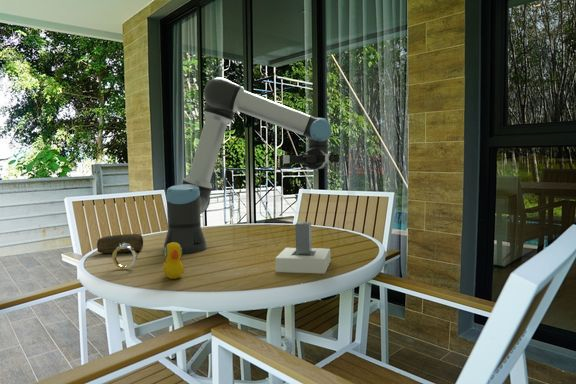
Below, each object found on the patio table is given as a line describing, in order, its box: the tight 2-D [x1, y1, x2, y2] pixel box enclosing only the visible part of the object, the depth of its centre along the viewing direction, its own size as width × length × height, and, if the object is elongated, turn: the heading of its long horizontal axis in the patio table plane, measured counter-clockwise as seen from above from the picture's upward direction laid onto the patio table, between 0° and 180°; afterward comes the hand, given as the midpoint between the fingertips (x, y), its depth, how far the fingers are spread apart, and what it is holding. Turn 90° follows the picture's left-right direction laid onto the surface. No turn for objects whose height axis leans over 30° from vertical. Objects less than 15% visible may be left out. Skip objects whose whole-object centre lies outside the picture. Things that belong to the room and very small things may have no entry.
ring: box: [111, 243, 138, 270], centre depth 122 cm, size 7×3×8 cm, turn 83°
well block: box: [274, 247, 331, 274], centre depth 121 cm, size 14×14×4 cm
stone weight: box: [96, 233, 144, 254], centre depth 147 cm, size 15×7×7 cm, turn 103°
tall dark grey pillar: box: [294, 221, 313, 256], centre depth 121 cm, size 4×4×13 cm
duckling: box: [162, 242, 185, 280], centre depth 112 cm, size 11×5×10 cm, turn 22°
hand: (305, 158), depth 130 cm, fingers open, 13 cm apart
